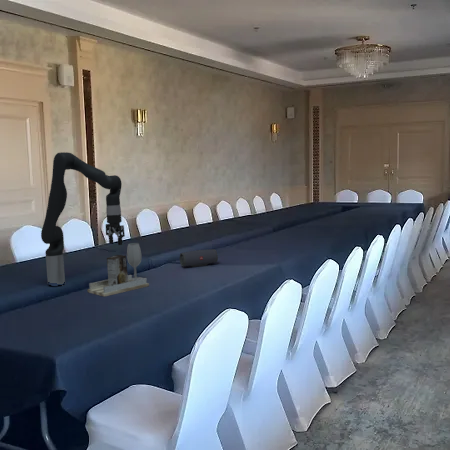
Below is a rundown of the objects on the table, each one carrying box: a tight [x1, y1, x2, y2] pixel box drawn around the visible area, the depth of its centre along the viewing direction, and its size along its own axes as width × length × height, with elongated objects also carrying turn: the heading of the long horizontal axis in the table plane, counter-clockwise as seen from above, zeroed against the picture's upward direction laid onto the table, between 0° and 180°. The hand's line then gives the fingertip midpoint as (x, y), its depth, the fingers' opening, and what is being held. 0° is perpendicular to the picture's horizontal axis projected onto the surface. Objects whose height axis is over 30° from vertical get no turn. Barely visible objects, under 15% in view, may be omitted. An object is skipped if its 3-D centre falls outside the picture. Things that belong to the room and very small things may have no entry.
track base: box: [87, 274, 150, 298], centre depth 296 cm, size 16×28×4 cm, turn 134°
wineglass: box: [126, 242, 143, 280], centre depth 314 cm, size 9×9×21 cm
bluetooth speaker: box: [179, 248, 219, 268], centre depth 349 cm, size 23×9×10 cm, turn 114°
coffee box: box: [106, 254, 129, 286], centre depth 295 cm, size 9×6×16 cm
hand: (115, 244), depth 293 cm, fingers open, 8 cm apart
